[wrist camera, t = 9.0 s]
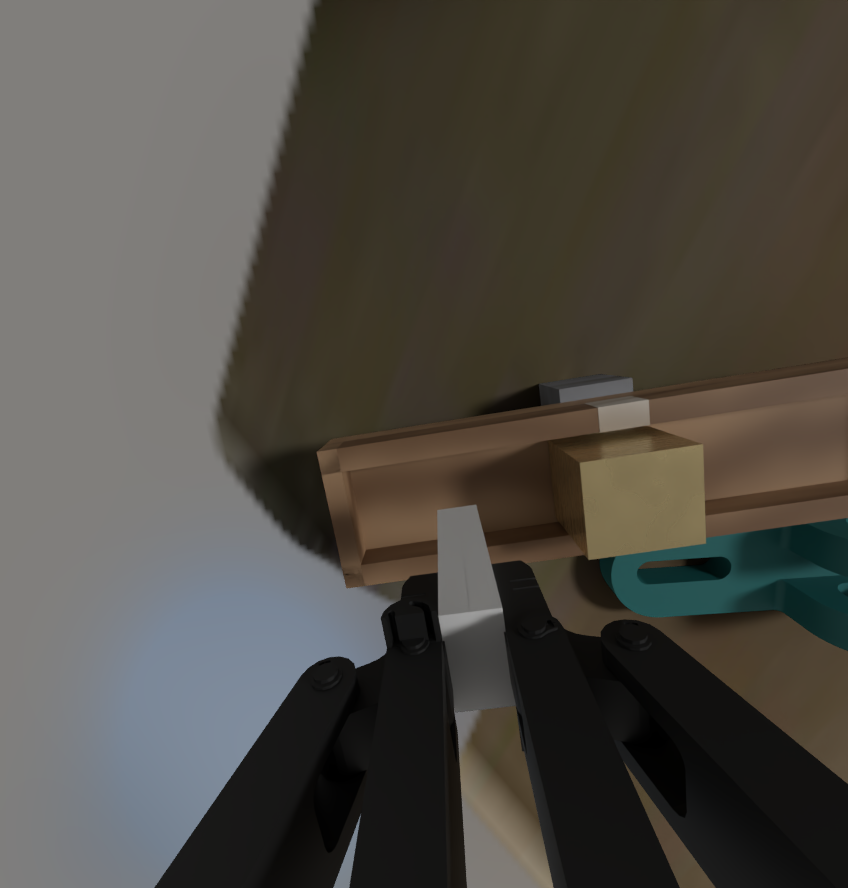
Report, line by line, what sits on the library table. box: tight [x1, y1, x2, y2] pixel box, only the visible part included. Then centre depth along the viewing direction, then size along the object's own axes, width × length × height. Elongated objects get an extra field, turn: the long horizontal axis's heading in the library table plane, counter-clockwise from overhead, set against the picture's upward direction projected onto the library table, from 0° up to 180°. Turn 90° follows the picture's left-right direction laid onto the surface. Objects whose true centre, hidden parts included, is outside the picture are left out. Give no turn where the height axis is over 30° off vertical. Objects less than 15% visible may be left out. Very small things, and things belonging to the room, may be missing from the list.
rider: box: [547, 426, 706, 560], centre depth 20 cm, size 4×5×5 cm
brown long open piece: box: [317, 358, 848, 588], centre depth 25 cm, size 9×30×8 cm, turn 99°
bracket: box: [599, 518, 848, 651], centre depth 27 cm, size 18×7×8 cm, turn 95°
